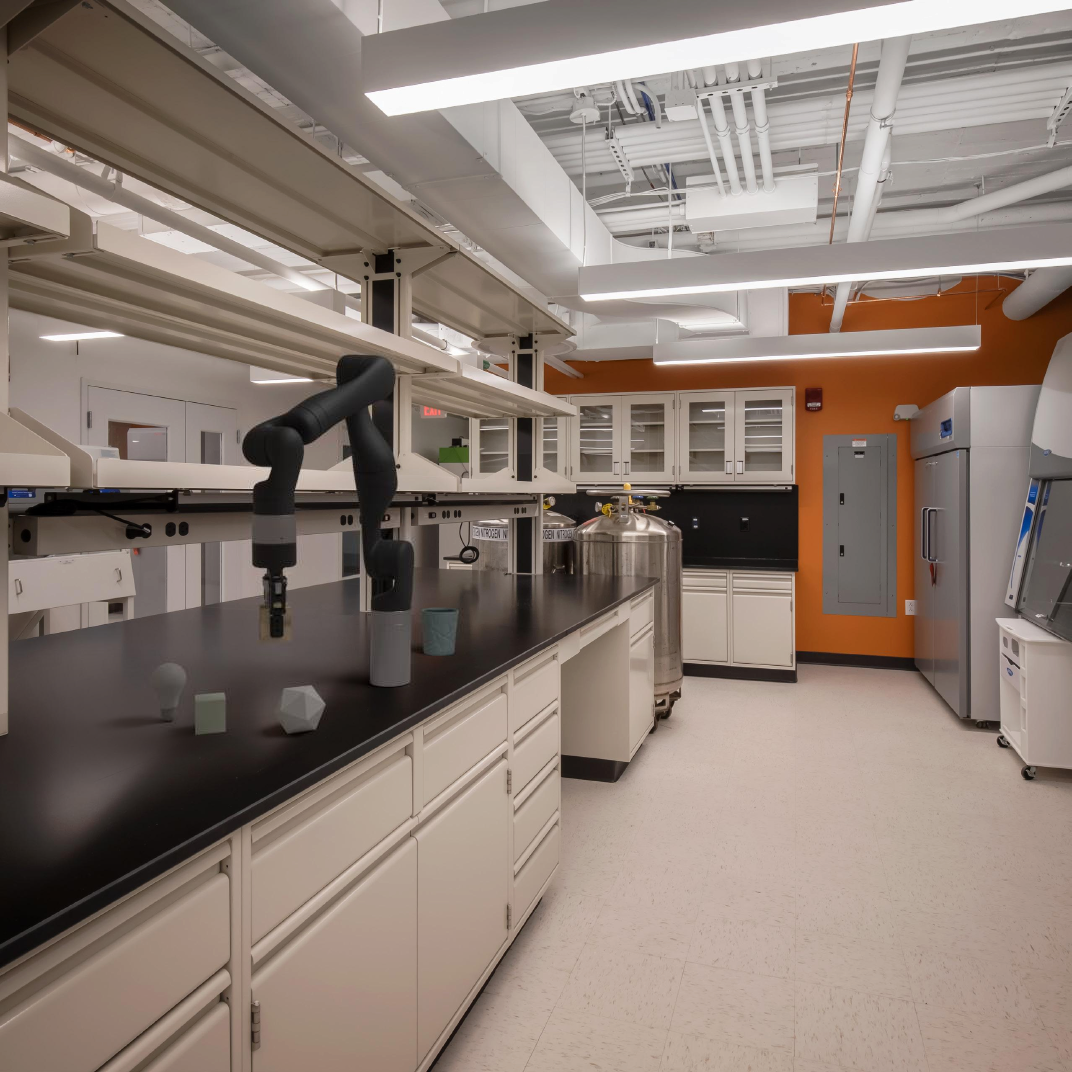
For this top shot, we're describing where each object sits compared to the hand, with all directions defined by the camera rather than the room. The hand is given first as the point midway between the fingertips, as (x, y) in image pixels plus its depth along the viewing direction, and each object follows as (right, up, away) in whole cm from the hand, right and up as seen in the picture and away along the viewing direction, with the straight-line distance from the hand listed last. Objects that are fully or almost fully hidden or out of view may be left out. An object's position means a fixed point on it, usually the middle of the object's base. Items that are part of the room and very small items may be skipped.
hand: (275, 633), depth 133 cm
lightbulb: (-23, -18, +7) cm, 30 cm away
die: (+3, -18, +4) cm, 19 cm away
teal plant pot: (+20, -15, +74) cm, 78 cm away
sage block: (-13, -18, +3) cm, 22 cm away
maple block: (0, -1, 0) cm, 1 cm away
